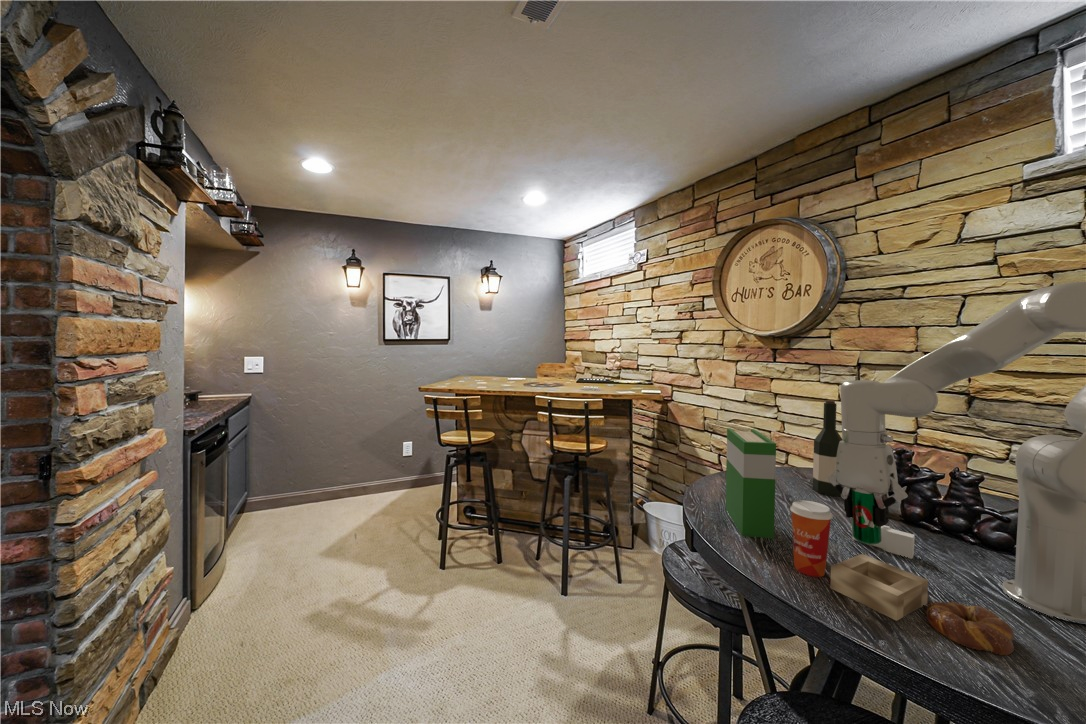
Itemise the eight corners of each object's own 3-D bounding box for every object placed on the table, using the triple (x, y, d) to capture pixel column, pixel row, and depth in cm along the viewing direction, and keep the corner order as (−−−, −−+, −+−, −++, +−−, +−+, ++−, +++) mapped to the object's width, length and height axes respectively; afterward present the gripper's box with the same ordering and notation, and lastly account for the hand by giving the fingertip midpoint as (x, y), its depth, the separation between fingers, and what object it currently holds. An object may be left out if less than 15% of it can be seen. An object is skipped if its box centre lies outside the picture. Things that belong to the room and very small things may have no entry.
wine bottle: (806, 488, 140) (808, 399, 139) (825, 486, 143) (827, 398, 141) (830, 497, 132) (833, 403, 131) (849, 494, 135) (852, 401, 133)
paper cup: (780, 564, 92) (781, 502, 92) (805, 558, 95) (806, 497, 94) (814, 583, 85) (816, 515, 84) (840, 576, 88) (842, 510, 87)
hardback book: (725, 508, 123) (727, 428, 122) (752, 510, 122) (754, 429, 121) (742, 535, 106) (744, 442, 105) (773, 538, 105) (776, 443, 103)
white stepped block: (836, 536, 107) (837, 514, 106) (879, 535, 107) (880, 513, 107) (887, 568, 92) (888, 542, 91) (936, 566, 92) (938, 541, 92)
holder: (927, 603, 78) (928, 580, 78) (896, 620, 73) (897, 596, 73) (861, 574, 88) (861, 553, 88) (830, 588, 83) (830, 566, 83)
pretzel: (942, 605, 78) (943, 586, 78) (1029, 642, 69) (1030, 620, 69) (911, 624, 73) (912, 604, 73) (1001, 668, 63) (1002, 644, 63)
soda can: (871, 535, 93) (869, 481, 93) (887, 545, 88) (886, 489, 88) (847, 535, 94) (845, 482, 93) (862, 545, 89) (860, 489, 88)
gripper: (921, 441, 84) (923, 530, 85) (831, 429, 100) (834, 505, 100) (902, 447, 81) (904, 539, 82) (812, 433, 96) (815, 511, 97)
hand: (866, 519), depth 91 cm, fingers closed on soda can, 5 cm apart
